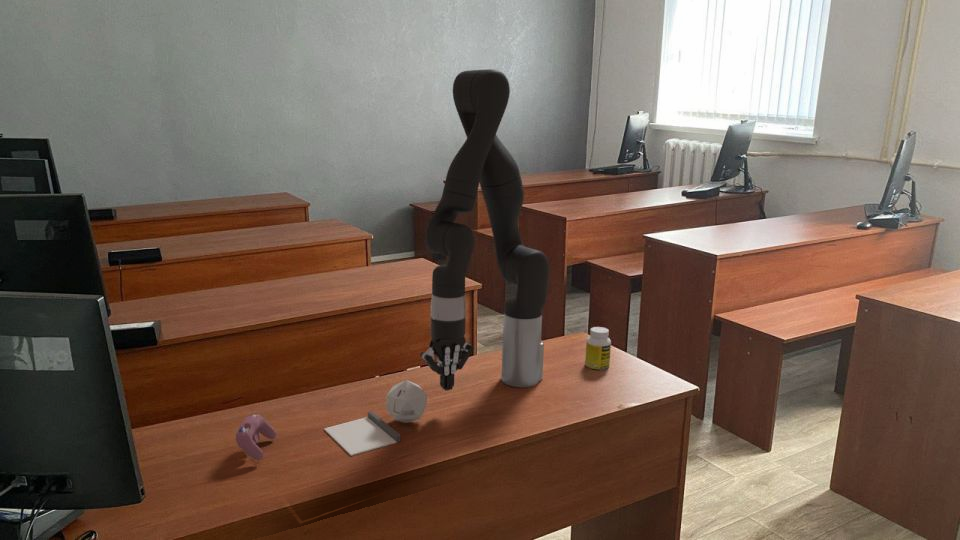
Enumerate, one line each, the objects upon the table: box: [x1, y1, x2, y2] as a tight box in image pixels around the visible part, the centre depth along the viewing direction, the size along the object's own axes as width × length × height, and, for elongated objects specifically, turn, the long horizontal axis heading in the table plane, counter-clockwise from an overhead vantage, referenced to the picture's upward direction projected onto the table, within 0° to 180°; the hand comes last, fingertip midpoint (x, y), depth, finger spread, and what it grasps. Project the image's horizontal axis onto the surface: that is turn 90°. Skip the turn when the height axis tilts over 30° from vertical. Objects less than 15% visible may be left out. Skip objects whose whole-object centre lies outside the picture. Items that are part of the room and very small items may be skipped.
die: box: [385, 379, 428, 424], centre depth 153 cm, size 8×9×10 cm
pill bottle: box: [584, 326, 612, 371], centre depth 184 cm, size 6×6×11 cm
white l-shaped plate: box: [323, 410, 401, 457], centre depth 148 cm, size 11×13×2 cm
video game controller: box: [235, 413, 277, 461], centre depth 141 cm, size 10×5×7 cm, turn 178°
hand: (446, 388), depth 159 cm, fingers closed
